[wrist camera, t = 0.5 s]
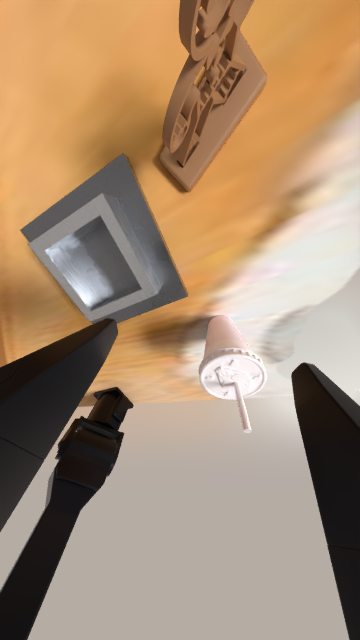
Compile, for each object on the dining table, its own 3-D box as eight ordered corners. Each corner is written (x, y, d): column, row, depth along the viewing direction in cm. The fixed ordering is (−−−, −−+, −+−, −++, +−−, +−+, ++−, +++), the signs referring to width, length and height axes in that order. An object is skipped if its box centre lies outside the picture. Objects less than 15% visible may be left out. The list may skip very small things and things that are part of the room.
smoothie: (219, 350, 26) (236, 455, 14) (190, 326, 25) (181, 423, 13) (253, 325, 23) (310, 432, 11) (222, 297, 22) (250, 386, 10)
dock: (102, 326, 26) (87, 341, 23) (28, 229, 20) (-8, 230, 17) (188, 293, 22) (185, 306, 19) (127, 156, 16) (107, 137, 12)
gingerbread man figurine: (189, 193, 17) (172, 140, 6) (159, 161, 16) (82, 34, 5) (265, 85, 13) (544, -502, 2) (232, 32, 12) (471, -1335, 1)
